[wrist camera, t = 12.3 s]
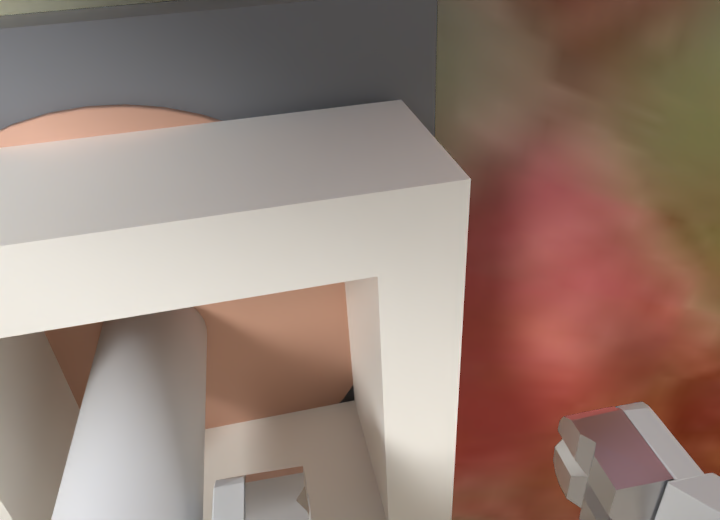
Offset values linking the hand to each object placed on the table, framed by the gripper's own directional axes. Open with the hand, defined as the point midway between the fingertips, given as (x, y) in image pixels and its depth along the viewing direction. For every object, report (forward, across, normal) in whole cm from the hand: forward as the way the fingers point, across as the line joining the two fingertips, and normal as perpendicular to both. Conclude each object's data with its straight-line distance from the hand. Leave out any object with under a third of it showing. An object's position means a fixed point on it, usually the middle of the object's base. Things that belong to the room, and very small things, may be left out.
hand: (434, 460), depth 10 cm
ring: (+5, +4, 0) cm, 7 cm away
